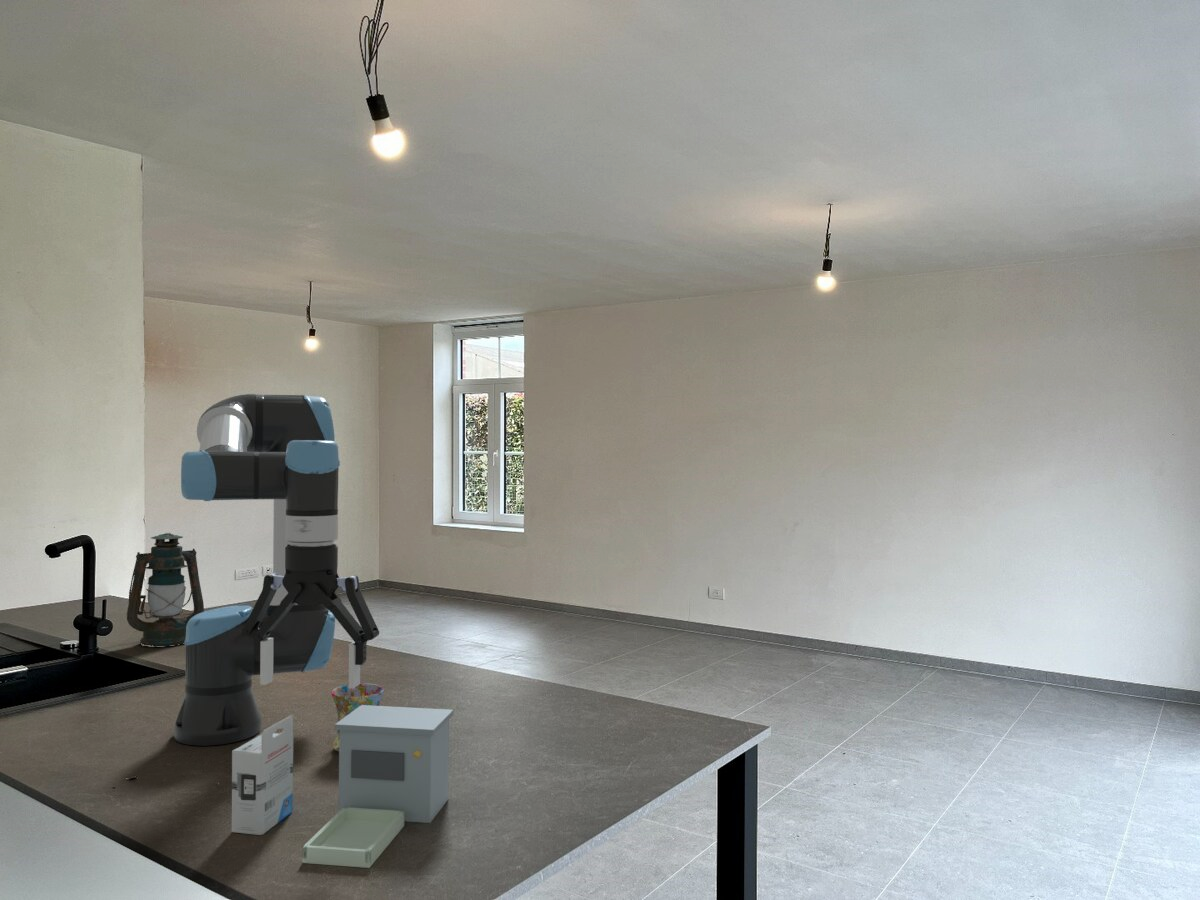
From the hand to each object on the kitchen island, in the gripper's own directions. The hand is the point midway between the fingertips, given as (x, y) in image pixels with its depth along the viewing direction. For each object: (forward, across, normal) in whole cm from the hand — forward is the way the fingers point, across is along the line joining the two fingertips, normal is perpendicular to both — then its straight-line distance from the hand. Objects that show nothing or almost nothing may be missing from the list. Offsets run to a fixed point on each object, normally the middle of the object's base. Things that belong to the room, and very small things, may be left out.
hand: (310, 684), depth 135 cm
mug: (+19, -4, +28) cm, 34 cm away
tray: (+19, +11, -10) cm, 24 cm away
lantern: (+20, -84, +104) cm, 135 cm away
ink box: (+19, -5, -5) cm, 20 cm away
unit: (+19, +12, +2) cm, 23 cm away
